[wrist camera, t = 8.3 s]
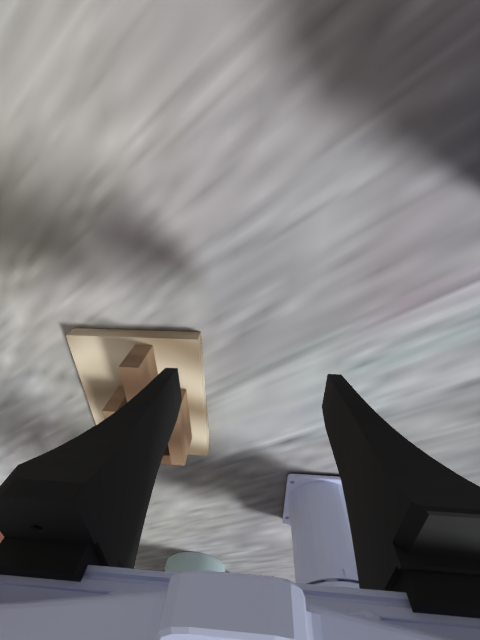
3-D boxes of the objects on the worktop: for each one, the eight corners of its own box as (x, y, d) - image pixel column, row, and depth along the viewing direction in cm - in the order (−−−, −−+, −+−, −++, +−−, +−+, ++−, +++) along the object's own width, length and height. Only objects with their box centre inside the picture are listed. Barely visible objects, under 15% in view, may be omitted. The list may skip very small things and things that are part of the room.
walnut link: (192, 437, 28) (184, 465, 25) (131, 434, 28) (117, 461, 25) (181, 346, 23) (170, 369, 20) (107, 343, 23) (87, 365, 20)
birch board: (209, 445, 30) (207, 455, 29) (110, 439, 30) (104, 449, 29) (200, 331, 23) (197, 339, 22) (74, 328, 24) (65, 335, 23)
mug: (164, 574, 45) (140, 672, 36) (169, 547, 41) (143, 650, 32) (247, 589, 45) (243, 690, 37) (260, 564, 41) (260, 670, 32)
